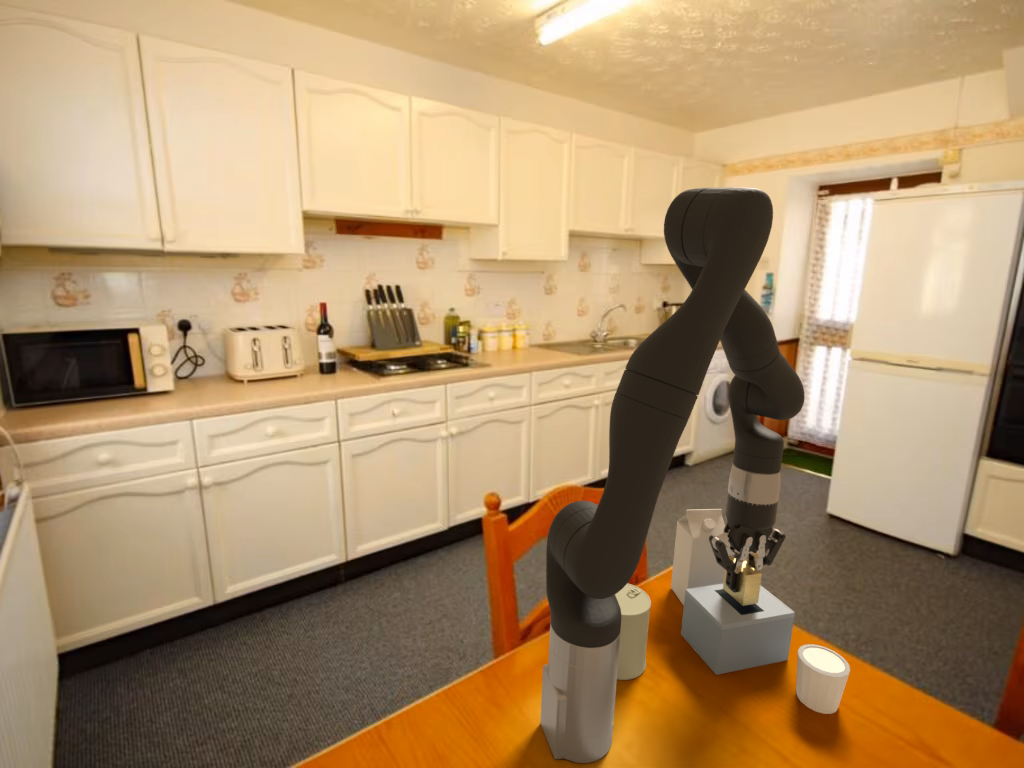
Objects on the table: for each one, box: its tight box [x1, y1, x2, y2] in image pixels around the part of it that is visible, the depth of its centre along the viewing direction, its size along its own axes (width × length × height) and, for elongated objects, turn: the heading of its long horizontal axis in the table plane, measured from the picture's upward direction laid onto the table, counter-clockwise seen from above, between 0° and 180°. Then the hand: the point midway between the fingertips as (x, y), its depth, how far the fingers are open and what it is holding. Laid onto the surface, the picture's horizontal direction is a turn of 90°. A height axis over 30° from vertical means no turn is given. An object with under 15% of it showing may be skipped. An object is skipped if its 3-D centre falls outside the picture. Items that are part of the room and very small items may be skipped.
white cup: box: [795, 643, 851, 715], centre depth 80 cm, size 7×7×7 cm
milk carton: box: [670, 508, 729, 607], centre depth 103 cm, size 7×7×19 cm
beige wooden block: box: [723, 559, 763, 606], centre depth 89 cm, size 3×5×6 cm, turn 16°
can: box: [615, 582, 652, 681], centre depth 86 cm, size 9×9×12 cm
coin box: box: [680, 582, 796, 675], centre depth 90 cm, size 14×10×9 cm
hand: (741, 588), depth 89 cm, fingers closed on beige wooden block, 2 cm apart
